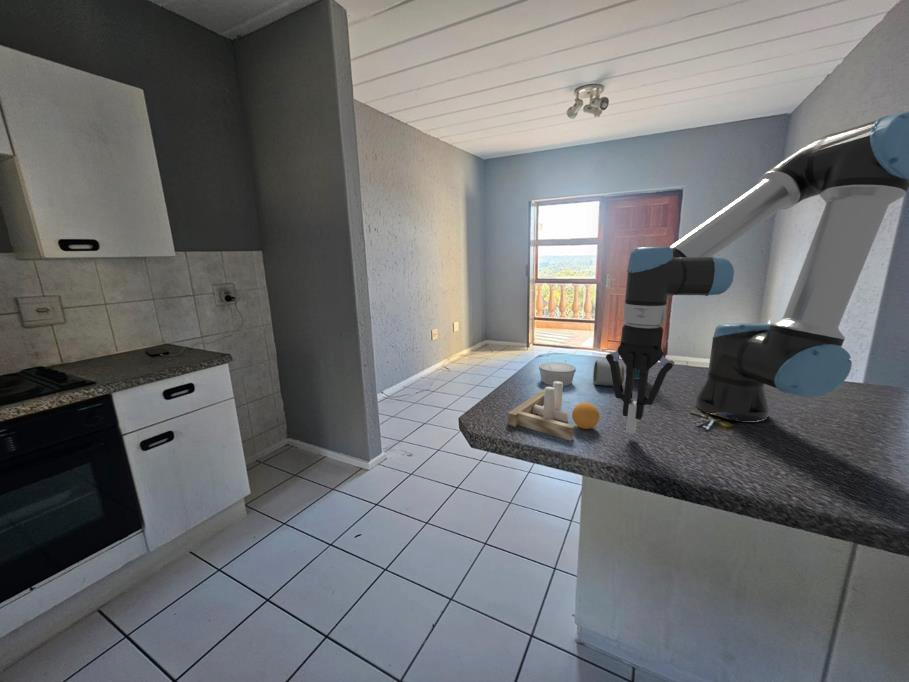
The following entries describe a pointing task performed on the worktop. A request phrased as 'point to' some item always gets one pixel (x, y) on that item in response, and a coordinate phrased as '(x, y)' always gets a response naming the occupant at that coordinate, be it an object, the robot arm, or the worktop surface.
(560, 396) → the pin
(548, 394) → the pin
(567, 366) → the ramekin
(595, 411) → the ball
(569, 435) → the triangular peg stand
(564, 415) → the front pin
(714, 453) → the worktop surface
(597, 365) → the ceramic mug
